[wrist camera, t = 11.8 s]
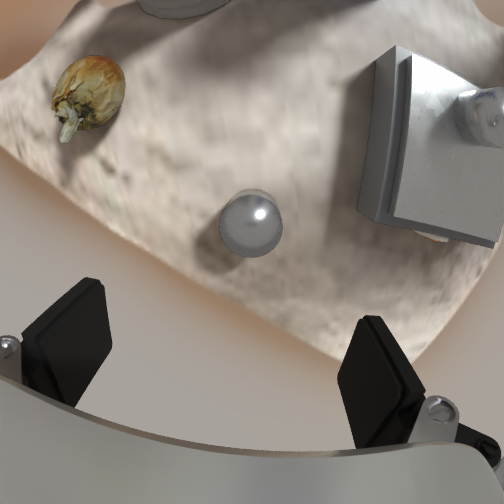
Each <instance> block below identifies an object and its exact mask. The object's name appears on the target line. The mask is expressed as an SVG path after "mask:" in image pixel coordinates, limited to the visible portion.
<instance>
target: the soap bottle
mask: <svg viewBox="0 0 504 504" xmlns="http://www.w3.org/2000/svg"><path fill="white" fill-rule="evenodd" d="M229 1H230V0H137V2H138V3H139V4H140V6H141V7H142V9H143V10H144V11H145V12H147V13H150V14H152V15H155V16H157V17H159V18H173V19H185V18H189V17H193V16H198V15H202V14H206V13H208V12H210V11H212V10H214V9H216V8H218V7H220V6H222V5H225V4H226V3H227V2H229Z"/></svg>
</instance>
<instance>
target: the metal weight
mask: <svg viewBox="0 0 504 504" xmlns="http://www.w3.org/2000/svg"><path fill="white" fill-rule="evenodd" d="M454 116H455V121H456V125H457V127H458V130H459V132H460V134H461V135H462V137H463V138H464V139H465V140H466V141H467V142H468V143H469V144H471V145H473V146H481V147H492V148H502V149H504V87H494V88H487V89H481V90H475V91H469V92H464V93H462V94H460V95H459V96H458V97H457V99H456V102H455V105H454Z"/></svg>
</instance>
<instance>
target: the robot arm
mask: <svg viewBox="0 0 504 504" xmlns="http://www.w3.org/2000/svg"><path fill="white" fill-rule="evenodd" d="M21 334H22V337H23V341H22V342H21V343H20V341H19V340H18V339H17V338H16V337H14V336H10V335H4V336H0V504H504V457H503V458H502V459H501V450H500V447H499V445H498V443H497V442H496V441H495V440H494V439H492V438H491V437H489V436H487V435H484V434H482V433H480V432H478V431H476V430H474V429H471V428H469V427H467V426H465V425H463V424H461V423H459V411H458V409H457V407H456V406H455V404H454V403H453V402H451V401H450V400H449V399H447V398H445V397H442V396H430V397H428V398H427V399H426V398H425V396H424V393H425V391H426V390H425V388H424V386H423V385H422V383H421V381H420V380H419V378H418V376H417V374H416V372H415V371H414V370H413V367H412V366H411V364H410V362H409V361H408V359H407V357H406V356H405V354H404V353H403V351H402V349H401V348H400V346H399V344H398V343H397V341H396V340H395V338H394V337H393V335H392V333H391V332H390V330H389V329H388V327H387V326H386V324H385V323H384V321H383V319H382V318H381V317H380V316H373V315H365V316H364V317H363V319H359V320H358V322H357V325H356V328H355V331H354V334H353V336H352V339H351V342H350V344H349V347H348V350H347V352H346V355H345V357H344V360H343V362H342V365H341V367H340V370H339V372H338V377H337V381H338V385H339V388H340V392H341V395H342V399H343V403H344V406H345V410H346V413H347V417H348V421H349V424H350V428H351V432H352V435H353V440H354V443H355V447H356V449H350V450H335V451H312V452H311V451H310V452H309V451H307V452H293V451H290V452H289V451H288V452H287V451H264V450H251V449H239V448H230V447H222V446H215V445H207V444H201V443H195V442H190V441H185V440H179V439H175V438H169V437H165V436H161V435H157V434H153V433H149V432H144V431H141V430H137V429H134V428H130V427H127V426H124V425H120V424H117V423H114V422H111V421H108V420H105V419H102V418H99V417H96V416H94V415H91V414H88V413H85V412H83V411H80V410H78V409H75V406H76V405H77V403H78V401H79V400H80V398H81V396H82V395H83V393H84V392H85V390H86V388H87V387H88V385H89V384H90V382H91V380H92V379H93V377H94V376H95V374H96V372H97V371H98V369H99V368H100V366H101V365H102V363H103V362H104V360H105V359H106V357H107V356H108V354H109V353H110V351H111V349H112V338H111V332H110V326H109V319H108V312H107V306H106V297H105V289H104V286H103V285H102V284H101V282H100V280H98V279H93V278H88V277H85V278H83V279H82V280H81V281H80V282H78V283H77V284H76V285H75V286H74V287H72V288H71V289H70V290H69V291H68V292H67V293H65V294H64V295H63V296H62V297H61V298H60V299H58V300H57V301H56V302H55V303H54V304H53V305H51V306H50V307H49V308H48V309H47V310H46V311H45V312H44V313H43V314H42V315H40V316H39V317H38V318H37V319H36V320H35V321H34V322H33V323H32V324H31V325H29V326H28V327H27V328H26V329H25V330H24V331H23V332H22V333H21Z"/></svg>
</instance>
